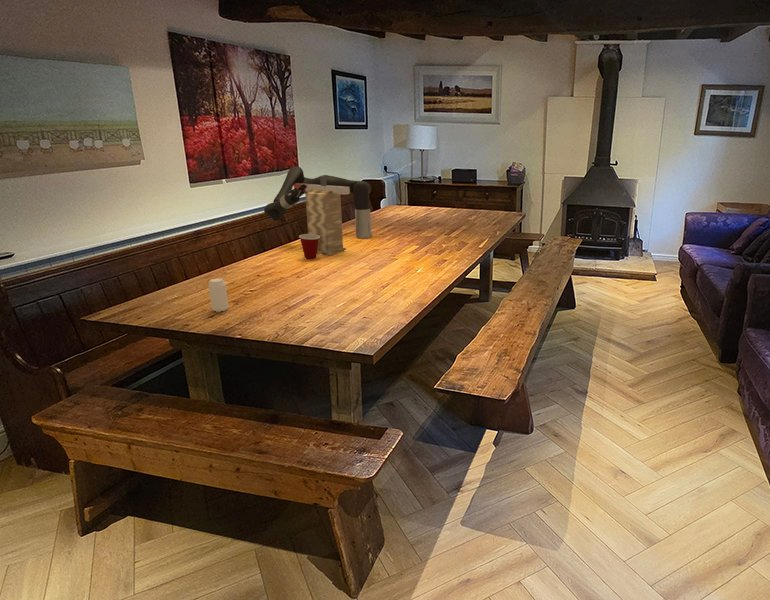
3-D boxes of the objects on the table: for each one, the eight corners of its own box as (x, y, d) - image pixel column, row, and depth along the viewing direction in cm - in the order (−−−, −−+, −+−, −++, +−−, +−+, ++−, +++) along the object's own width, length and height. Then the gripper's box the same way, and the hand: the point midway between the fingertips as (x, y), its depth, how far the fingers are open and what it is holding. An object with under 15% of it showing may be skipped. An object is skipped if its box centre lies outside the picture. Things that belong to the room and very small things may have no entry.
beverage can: (208, 312, 202) (204, 282, 198) (216, 307, 208) (212, 277, 204) (224, 313, 201) (220, 282, 197) (231, 307, 207) (227, 277, 203)
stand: (306, 252, 292) (302, 190, 281) (324, 247, 302) (320, 187, 292) (328, 255, 282) (325, 192, 272) (345, 250, 293) (342, 189, 283)
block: (294, 191, 291) (293, 174, 289) (299, 190, 294) (298, 174, 292) (345, 194, 271) (344, 177, 268) (350, 193, 274) (349, 176, 272)
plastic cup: (317, 261, 273) (316, 237, 269) (297, 260, 275) (295, 237, 271) (324, 256, 283) (322, 233, 279) (304, 255, 285) (303, 233, 281)
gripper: (277, 194, 293) (295, 180, 282) (295, 191, 304) (314, 177, 293) (283, 207, 293) (301, 192, 282) (301, 203, 304) (319, 189, 292)
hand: (307, 185), depth 287 cm, fingers closed on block, 4 cm apart
